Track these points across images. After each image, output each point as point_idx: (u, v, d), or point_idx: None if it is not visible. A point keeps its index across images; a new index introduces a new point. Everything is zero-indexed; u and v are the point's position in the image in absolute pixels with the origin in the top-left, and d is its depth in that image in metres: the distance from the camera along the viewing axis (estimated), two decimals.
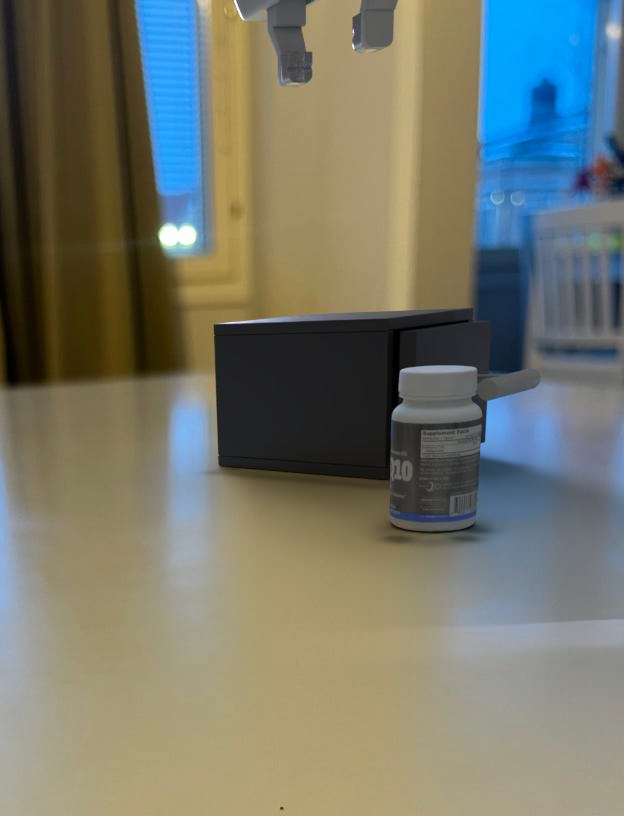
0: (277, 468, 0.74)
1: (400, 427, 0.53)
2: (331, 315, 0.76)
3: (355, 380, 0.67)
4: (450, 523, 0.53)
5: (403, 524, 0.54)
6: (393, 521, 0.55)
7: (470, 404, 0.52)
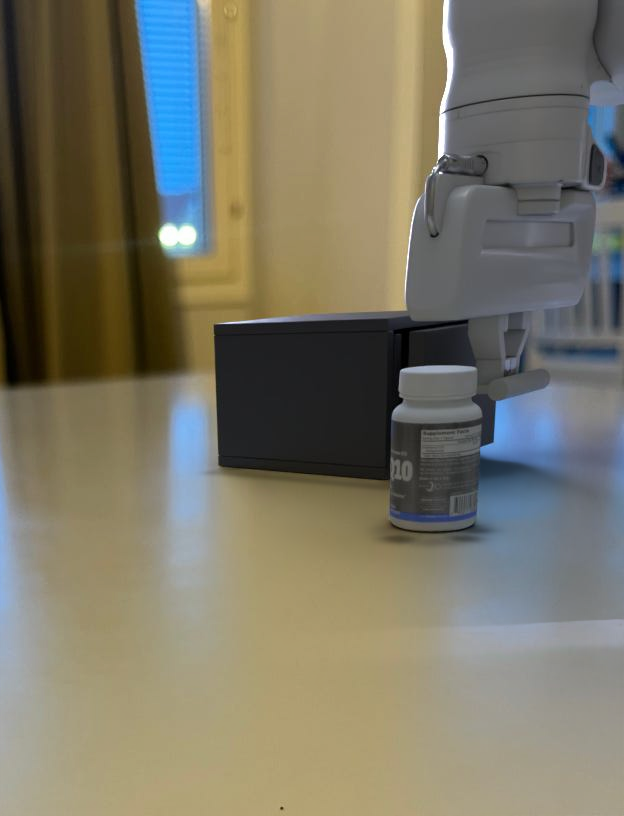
0: (277, 468, 0.74)
1: (400, 427, 0.53)
2: (331, 315, 0.76)
3: (355, 380, 0.67)
4: (450, 523, 0.53)
5: (403, 524, 0.54)
6: (393, 520, 0.55)
7: (470, 404, 0.52)
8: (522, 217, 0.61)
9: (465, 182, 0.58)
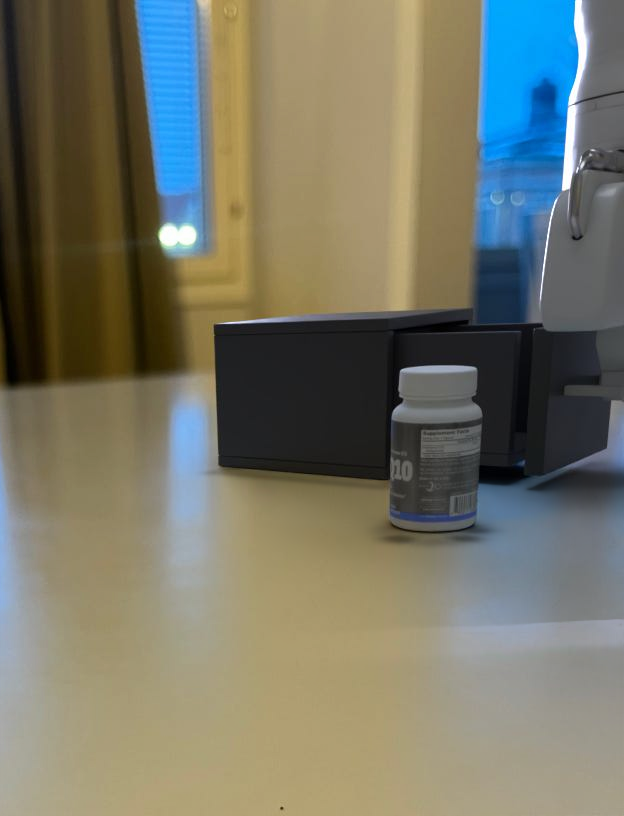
0: (277, 468, 0.74)
1: (400, 427, 0.53)
2: (331, 315, 0.76)
3: (355, 380, 0.67)
4: (450, 523, 0.53)
5: (403, 524, 0.54)
6: (393, 520, 0.55)
7: (470, 404, 0.52)
8: None
9: (608, 179, 0.53)
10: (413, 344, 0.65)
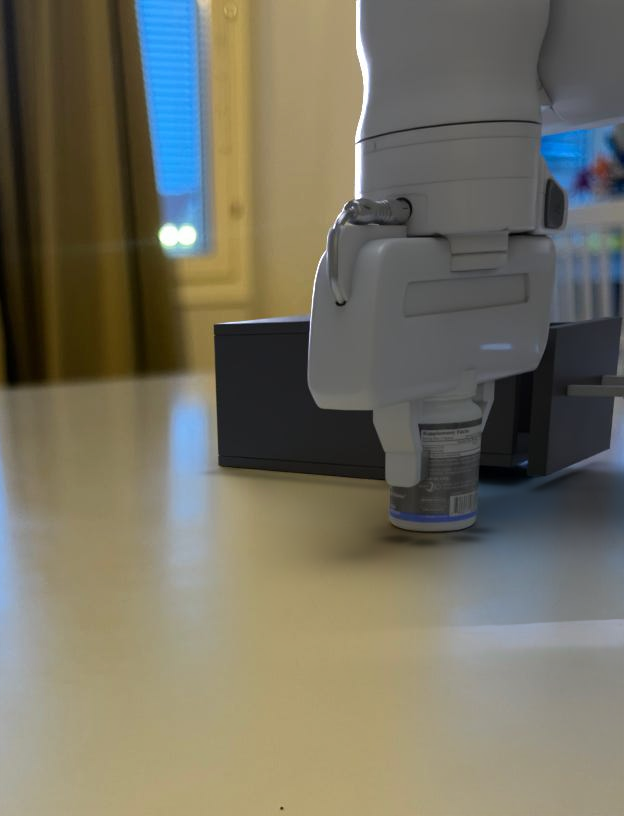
0: (277, 468, 0.74)
1: None
2: None
3: None
4: (450, 523, 0.53)
5: (403, 524, 0.54)
6: (393, 521, 0.55)
7: (470, 404, 0.52)
8: (458, 273, 0.49)
9: (381, 234, 0.45)
10: None
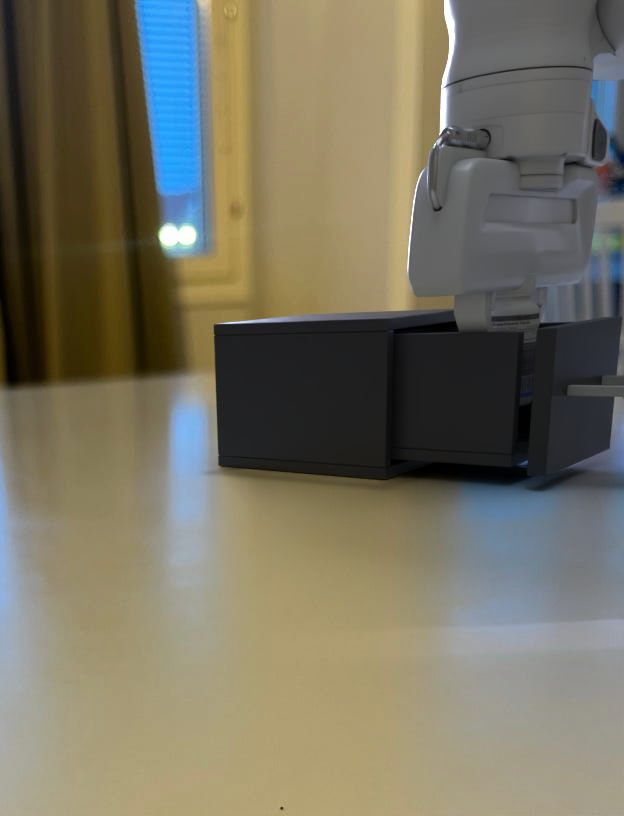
0: (277, 468, 0.74)
1: None
2: (331, 315, 0.76)
3: (355, 380, 0.67)
4: None
5: None
6: None
7: (530, 301, 0.64)
8: (525, 191, 0.61)
9: (468, 155, 0.58)
10: (415, 344, 0.65)
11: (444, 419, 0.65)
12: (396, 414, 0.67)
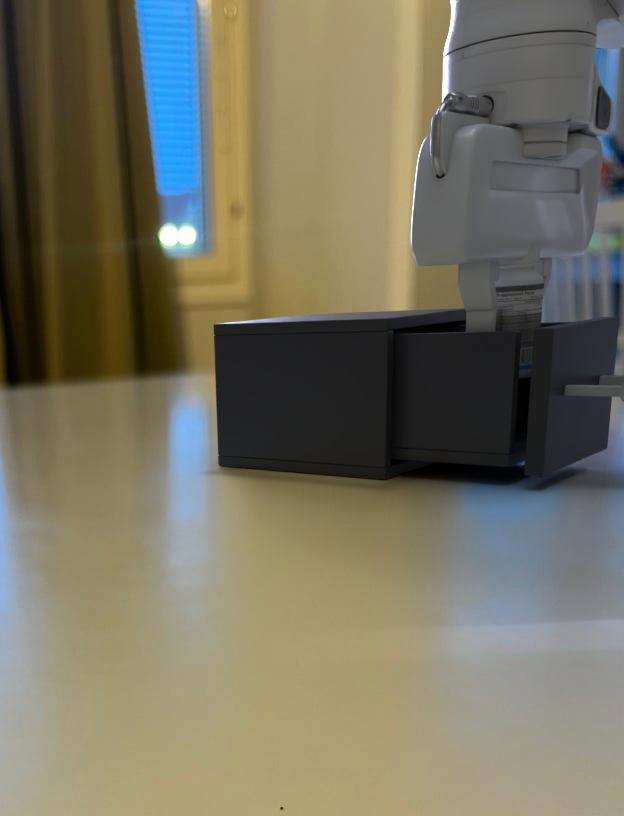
0: (277, 468, 0.74)
1: None
2: (331, 315, 0.76)
3: (355, 380, 0.67)
4: None
5: None
6: None
7: (534, 272, 0.64)
8: (529, 159, 0.60)
9: (471, 122, 0.57)
10: (413, 344, 0.65)
11: (442, 419, 0.65)
12: (394, 414, 0.67)
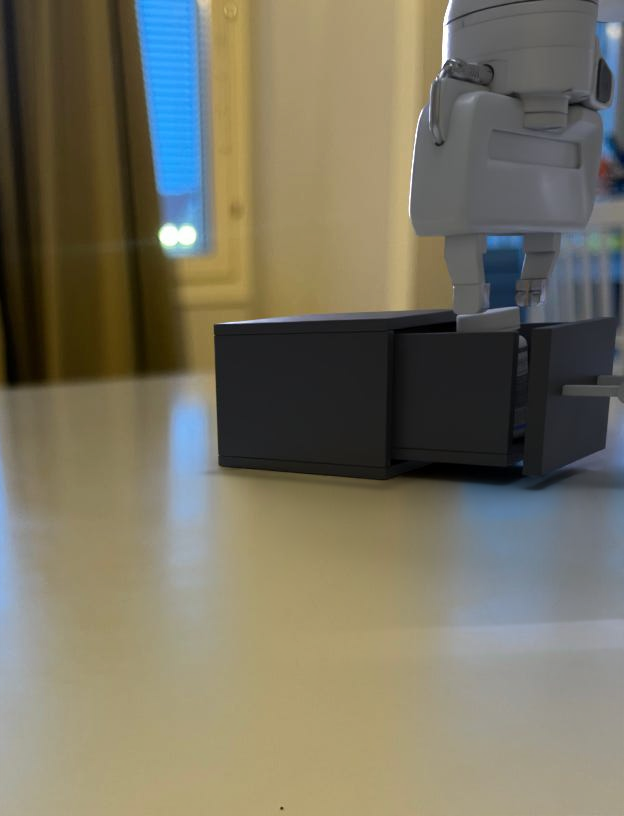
0: (277, 468, 0.74)
1: None
2: (331, 315, 0.76)
3: (355, 380, 0.67)
4: None
5: None
6: None
7: None
8: (529, 130, 0.60)
9: (471, 90, 0.57)
10: (411, 344, 0.65)
11: (440, 419, 0.65)
12: (392, 414, 0.68)
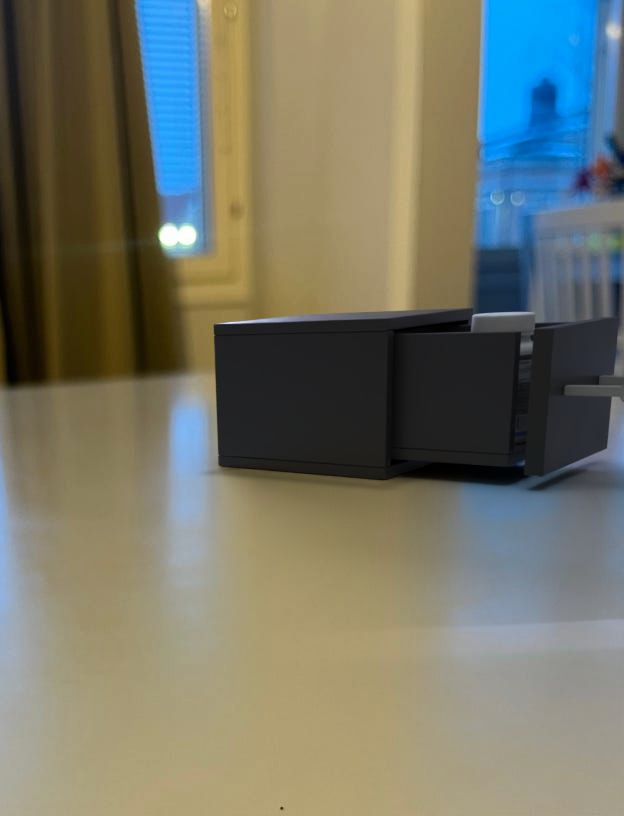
0: (277, 468, 0.74)
1: None
2: (331, 315, 0.76)
3: (355, 380, 0.67)
4: None
5: None
6: None
7: (529, 341, 0.65)
8: None
9: None
10: (413, 344, 0.65)
11: (441, 419, 0.65)
12: (394, 414, 0.67)
